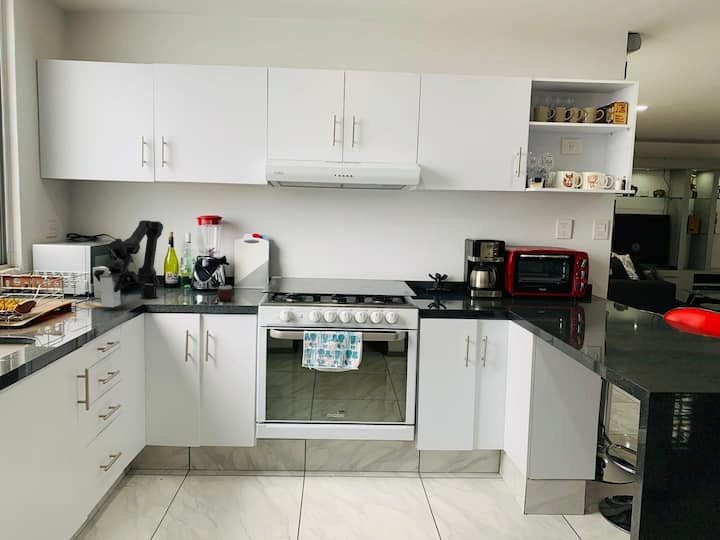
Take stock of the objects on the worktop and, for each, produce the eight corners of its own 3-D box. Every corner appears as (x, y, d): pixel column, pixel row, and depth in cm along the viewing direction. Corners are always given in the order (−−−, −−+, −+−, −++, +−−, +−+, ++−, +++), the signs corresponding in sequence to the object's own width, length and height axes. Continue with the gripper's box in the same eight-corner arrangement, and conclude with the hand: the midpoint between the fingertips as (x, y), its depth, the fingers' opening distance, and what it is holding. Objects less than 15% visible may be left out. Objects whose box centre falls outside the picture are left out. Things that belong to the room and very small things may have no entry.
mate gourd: (234, 302, 267) (234, 271, 265) (218, 303, 263) (217, 272, 262) (230, 299, 273) (230, 270, 272) (214, 300, 270) (214, 270, 268)
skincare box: (116, 297, 275) (115, 266, 274) (107, 299, 269) (106, 267, 267) (102, 296, 277) (101, 265, 276) (93, 298, 271) (92, 267, 269)
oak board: (96, 304, 258) (96, 302, 258) (110, 306, 251) (110, 304, 251) (71, 307, 248) (71, 305, 248) (85, 310, 241) (85, 308, 241)
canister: (109, 303, 244) (107, 273, 242) (121, 304, 243) (119, 273, 241) (101, 306, 238) (99, 275, 236) (113, 307, 238) (112, 275, 235)
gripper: (95, 252, 243) (80, 279, 234) (134, 253, 241) (121, 281, 231) (106, 267, 252) (92, 294, 242) (144, 268, 250) (131, 296, 240)
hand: (109, 291), depth 239 cm, fingers closed on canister, 5 cm apart
